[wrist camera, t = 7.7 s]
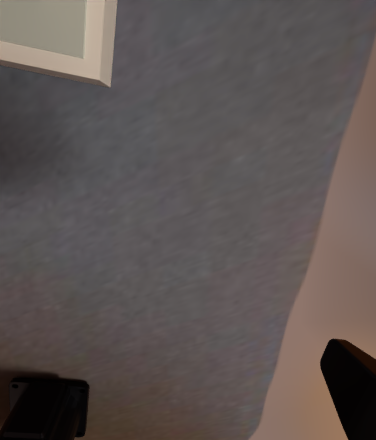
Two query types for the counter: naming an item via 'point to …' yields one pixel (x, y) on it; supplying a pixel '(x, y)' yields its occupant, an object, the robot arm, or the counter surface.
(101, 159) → the counter surface
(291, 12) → the counter surface
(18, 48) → the tile base
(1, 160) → the counter surface
